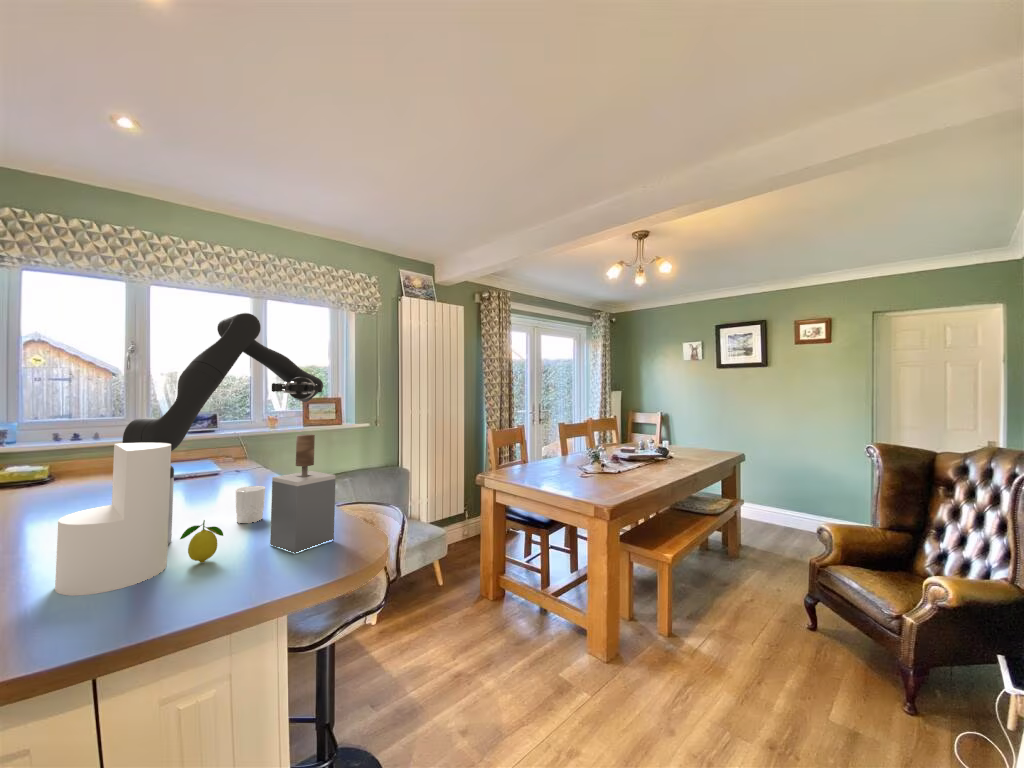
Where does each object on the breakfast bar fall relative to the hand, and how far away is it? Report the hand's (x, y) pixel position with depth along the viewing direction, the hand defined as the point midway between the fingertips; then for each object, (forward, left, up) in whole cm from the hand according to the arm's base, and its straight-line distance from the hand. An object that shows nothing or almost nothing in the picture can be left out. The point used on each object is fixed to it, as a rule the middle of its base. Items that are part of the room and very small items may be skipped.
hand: (294, 387), depth 124 cm
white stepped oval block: (-40, -1, -42) cm, 58 cm away
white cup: (-4, +15, -42) cm, 45 cm away
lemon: (-27, -9, -42) cm, 51 cm away
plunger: (-7, -17, -40) cm, 44 cm away
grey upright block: (-7, -17, -42) cm, 46 cm away
